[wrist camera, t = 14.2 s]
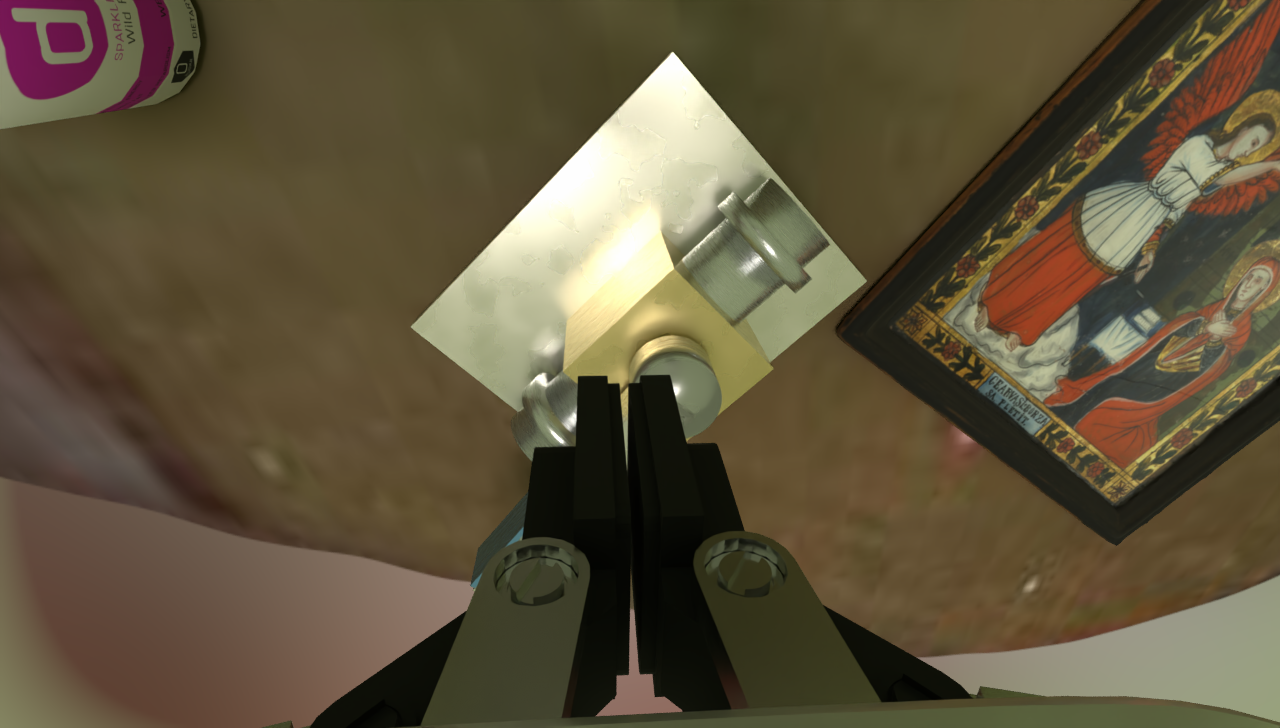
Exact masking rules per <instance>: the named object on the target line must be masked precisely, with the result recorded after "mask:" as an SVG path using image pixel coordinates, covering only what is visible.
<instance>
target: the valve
mask: <svg viewBox="0 0 1280 728" xmlns="http://www.w3.org/2000/svg"><path fill="white" fill-rule="evenodd" d="M866 282H867V281H866V279H865V278H864V277H863V276H862V275H861V273H860V272H859V271H858V270H857V269H856V268H855V266H854V265H853V264H852V263H851V262H850V260H849V259H848V258H847V257H846V256H845V255H844V253H843V252H842V251H841V250H840V249H839V247H838V246H837V245H836V244H835V243H834V242H833V240H832V239H831V238H830V237H829V236H828V234H827V233H826V232H825V231H824V230H823V229H822V227H821V226H820V225H819V224H818V223H817V221H816V220H815V219H814V218H813V217H812V216H811V214H810V213H809V212H808V211H807V210H806V209H805V207H804V206H803V205H802V204H801V203H800V201H799V200H798V199H797V198H796V197H795V196H794V194H793V193H792V192H791V191H790V190H789V188H788V187H787V186H786V185H785V184H784V183H783V181H782V180H781V179H780V178H779V177H778V175H777V174H776V173H775V172H774V171H773V170H772V168H771V167H770V166H769V165H768V164H767V162H766V161H765V160H764V159H763V158H762V157H761V155H760V154H759V153H758V152H757V151H756V149H755V148H754V147H753V146H752V145H751V144H750V142H749V141H748V140H747V139H746V138H745V136H744V135H743V134H742V133H741V132H740V131H739V129H738V128H737V127H736V126H735V125H734V124H733V122H732V121H731V120H730V119H729V118H728V116H727V115H726V114H725V113H724V112H723V111H722V109H721V108H720V107H719V106H718V105H717V103H716V102H715V101H714V100H713V99H712V98H711V96H710V95H709V94H708V93H707V92H706V90H705V89H704V88H703V87H702V86H701V85H700V83H699V82H698V81H697V80H696V79H695V77H694V76H693V75H692V74H691V73H690V72H689V70H688V69H687V68H686V67H685V66H684V64H683V63H682V62H681V61H680V60H679V59H678V57H677V56H676V55H675V54H674V53H673V52H670V53H669V54H668V55H667V56H666V57H665V58H664V59H663V61H662V62H661V63H660V64H659V65H658V66H657V67H656V68H655V69H654V70H653V71H652V72H651V73H650V74H649V75H648V76H647V77H646V78H645V79H644V80H643V82H642V83H641V84H640V85H639V86H638V87H637V88H636V89H635V90H634V91H633V92H632V93H631V94H630V95H629V96H628V97H627V98H626V99H625V100H624V101H623V102H622V104H621V105H620V106H619V107H618V108H617V109H616V110H615V111H614V112H613V113H612V114H611V115H610V116H609V117H608V118H607V119H606V120H605V121H604V122H603V123H602V125H601V126H600V127H599V128H598V129H597V130H596V131H595V132H594V133H593V134H592V135H591V136H590V137H589V138H588V139H587V140H586V141H585V142H584V143H583V144H582V146H581V147H580V148H579V149H578V150H577V151H576V152H575V153H574V154H573V155H572V156H571V157H570V158H569V159H568V160H567V161H566V162H565V163H564V164H563V165H562V167H561V168H560V169H559V170H558V171H557V172H556V173H555V174H554V175H553V176H552V177H551V178H550V179H549V180H548V181H547V182H546V183H545V184H544V185H543V186H542V188H541V189H540V190H539V191H538V192H537V193H536V194H535V195H534V196H533V197H532V198H531V199H530V200H529V201H528V202H527V203H526V204H525V205H524V206H523V207H522V209H521V210H520V211H519V212H518V213H517V214H516V215H515V216H514V217H513V218H512V219H511V220H510V221H509V222H508V223H507V224H506V225H505V226H504V227H503V228H502V230H501V231H500V232H499V233H498V234H497V235H496V236H495V237H494V238H493V239H492V240H491V241H490V242H489V243H488V244H487V245H486V246H485V247H484V248H483V249H482V251H481V252H480V253H479V254H478V255H477V256H476V257H475V258H474V259H473V260H472V261H471V262H470V263H469V264H468V265H467V266H466V267H465V268H464V269H463V270H462V271H461V273H460V274H459V275H458V276H457V277H456V278H455V279H454V280H453V281H452V282H451V283H450V284H449V285H448V286H447V287H446V288H445V289H444V290H443V291H442V292H441V294H440V295H439V296H438V297H437V298H436V299H435V300H434V301H433V302H432V303H431V304H430V305H429V306H428V307H427V308H426V309H425V310H424V311H423V312H422V313H421V315H420V316H419V317H418V318H417V319H416V320H415V321H414V322H413V324H412V326H411V328H412V329H413V330H415V331H416V332H417V333H419V334H420V335H421V336H422V337H424V338H425V339H426V340H427V341H429V342H430V343H431V344H433V345H434V346H435V347H436V348H438V349H439V350H440V351H441V352H443V353H444V354H445V355H446V356H448V357H449V358H450V359H452V360H453V361H454V362H455V363H457V364H458V365H459V366H460V367H462V368H463V369H464V370H466V371H467V372H468V373H469V374H471V375H472V376H473V377H474V378H476V379H477V380H478V381H479V382H481V383H482V384H483V385H485V386H486V387H487V388H488V389H490V390H491V391H492V392H493V393H495V394H496V395H497V396H499V397H500V398H501V399H502V400H504V401H505V402H506V403H507V404H509V405H510V406H511V407H512V408H514V409H515V410H516V411H518V412H517V413H516V414H515V415H514V416H513V417H512V420H511V429H512V433H513V435H514V438H515V440H516V442H517V443H518V445H519V447H520V448H521V449H522V451H523V452H524V453H525V454H526V456H527V457H528V458H529V459H530V460H531V461H532V460H533V453H534V448H535V447H558V446H576V415H577V384H578V376H608V383H619V384H620V395H621V394H622V393H623V392H624V391H625V389H626V388H627V387H628V385H629V368H630V364H631V361H632V359H633V357H634V356H635V354H636V353H637V351H638V350H639V349H640V348H641V347H642V346H644V345H645V344H646V343H648V342H650V341H651V340H654V339H656V338H659V337H663V336H671V335H674V336H682V337H686V338H689V339H691V340H693V341H695V342H696V343H698V344H699V345H700V346H701V347H702V348H703V349H704V350H705V351H706V353H707V354H708V356H709V359H710V361H711V364H712V367H713V369H714V372H715V375H716V377H717V380H718V383H719V385H720V389H721V393H722V403H721V408H720V411H719V413H718V415H719V414H720V413H721V412H722V411H724V410H725V409H726V408H727V407H728V406H730V405H731V404H732V403H733V402H734V401H736V400H737V399H738V398H739V397H740V396H742V395H743V394H744V393H745V392H746V391H748V390H749V389H750V388H751V387H752V386H754V385H755V384H756V383H757V382H758V381H760V380H761V379H762V378H763V377H764V376H766V375H767V374H768V373H769V372H770V371H772V370H773V369H774V368H773V366H772V364H771V363H770V362H771V361H772V360H773V359H775V358H776V357H777V356H778V355H779V354H781V353H782V352H783V351H784V350H785V349H787V348H788V347H789V346H790V345H791V344H792V343H794V342H795V341H796V340H797V339H798V338H800V337H801V336H802V335H803V334H804V333H806V332H807V331H808V330H809V329H810V328H812V327H813V326H814V325H815V324H816V323H818V322H819V321H820V320H821V319H822V318H824V317H825V316H826V315H827V314H828V313H830V312H831V311H832V310H833V309H834V308H836V307H837V306H838V305H839V304H840V303H842V302H843V301H844V300H845V299H846V298H848V297H849V296H850V295H851V294H852V293H854V292H855V291H856V290H857V289H858V288H860V287H861V286H862V285H863V284H864V283H866ZM690 438H691V437H689V438H686V441H687V440H689V439H690Z"/></svg>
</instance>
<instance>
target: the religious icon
mask: <svg viewBox="0 0 1280 728" xmlns="http://www.w3.org/2000/svg"><path fill="white" fill-rule="evenodd" d="M837 335H838V337H839V338H840V339H841V340H842V341H843V342H844V343H846V344H847V345H848V346H850V347H851V348H852V349H854V350H855V351H856V352H858V353H859V354H860V355H862V356H863V357H864V358H866V359H867V360H868V361H870V362H871V363H872V364H873V365H875V366H876V367H878V368H879V369H880V370H882V371H883V372H884V373H886V374H887V375H888V376H890V377H891V378H892V379H893V380H895V381H896V382H897V383H899V384H900V385H901V386H903V387H904V388H905V389H907V390H908V391H909V392H911V393H912V394H913V395H915V396H916V397H917V398H919V399H920V400H921V401H923V402H924V403H925V404H927V405H928V406H929V407H930V408H932V409H933V410H934V411H936V412H937V413H938V414H940V415H941V416H942V417H944V418H945V419H946V420H948V421H949V422H950V423H952V424H953V425H954V426H955V427H957V428H958V429H959V430H961V431H962V432H963V433H965V434H966V435H967V436H969V437H970V438H971V439H973V440H974V441H976V442H977V443H978V444H980V445H981V446H982V447H983V448H985V449H986V450H987V451H989V452H990V453H991V454H992V455H994V456H995V457H996V458H998V459H999V460H1000V461H1002V462H1003V463H1004V464H1006V465H1007V466H1008V467H1010V468H1011V469H1012V470H1014V471H1015V472H1016V473H1018V474H1019V475H1020V476H1022V477H1023V478H1024V479H1026V480H1027V481H1028V482H1029V483H1031V484H1032V485H1033V486H1035V487H1036V488H1037V489H1039V490H1040V491H1041V492H1043V493H1044V494H1045V495H1046V496H1048V497H1049V498H1051V499H1052V500H1053V501H1055V502H1056V503H1057V504H1058V505H1060V506H1061V507H1062V508H1064V509H1065V510H1066V511H1068V512H1069V513H1070V514H1072V515H1073V516H1074V517H1076V518H1077V519H1078V520H1080V521H1081V522H1082V523H1083V524H1084V525H1086V526H1087V527H1089V528H1090V529H1091V530H1093V531H1094V532H1096V533H1097V534H1098V535H1100V536H1101V537H1102V538H1104V539H1105V540H1106V541H1108V542H1110V543H1112V544H1114V545H1116V546H1117V545H1118V544H1120V543H1121V542H1122V541H1123V540H1124V539H1125V538H1126V537H1127V536H1128V535H1130V534H1131V533H1133V532H1134V531H1135V530H1137V529H1138V528H1139V527H1141V526H1142V525H1144V524H1146V523H1148V521H1149V520H1150V519H1152V518H1153V517H1154V516H1155V515H1157V514H1159V513H1160V512H1161V511H1162V510H1163V509H1164V508H1165V507H1167V506H1168V505H1169V504H1171V503H1172V502H1173V501H1174V500H1176V499H1177V498H1178V497H1180V496H1181V495H1182V494H1183V493H1185V492H1186V491H1187V490H1189V489H1190V488H1191V487H1193V486H1194V485H1195V484H1197V483H1198V482H1199V481H1201V480H1202V479H1204V478H1206V477H1207V476H1208V475H1209V474H1211V473H1212V472H1213V471H1214V470H1215V469H1216V468H1218V467H1219V466H1220V465H1221V464H1223V463H1224V462H1225V461H1227V460H1228V459H1229V458H1231V457H1232V456H1233V455H1234V454H1236V453H1237V452H1239V451H1240V450H1241V449H1243V448H1244V447H1245V446H1246V445H1248V444H1249V443H1250V442H1252V441H1253V440H1254V439H1256V438H1257V437H1258V436H1260V435H1261V434H1262V433H1264V432H1265V431H1266V430H1268V429H1269V428H1270V427H1272V426H1273V425H1274V424H1276V423H1277V422H1278V421H1280V0H1141V2H1140V3H1139V4H1138V5H1137V6H1136V7H1135V8H1134V9H1133V10H1132V11H1131V12H1130V13H1129V14H1128V15H1127V16H1126V17H1125V19H1124V20H1123V21H1122V22H1121V23H1120V24H1119V25H1118V26H1117V27H1116V28H1115V29H1114V30H1113V31H1112V33H1111V34H1110V35H1109V36H1108V37H1107V38H1106V39H1105V40H1104V41H1103V42H1102V43H1101V44H1100V45H1099V47H1098V48H1097V49H1096V50H1095V51H1094V52H1093V53H1092V54H1091V55H1090V56H1089V58H1088V59H1087V60H1086V61H1085V62H1084V63H1083V64H1082V65H1081V66H1080V67H1079V68H1078V69H1077V70H1076V71H1075V72H1074V73H1073V74H1072V75H1071V77H1070V78H1069V79H1068V80H1067V81H1066V82H1065V83H1064V84H1063V85H1062V86H1061V87H1060V89H1059V90H1058V91H1057V92H1056V93H1055V94H1054V95H1053V96H1052V97H1051V98H1050V99H1049V100H1048V101H1047V102H1046V103H1045V105H1044V106H1043V107H1042V108H1041V109H1040V110H1039V111H1038V112H1037V113H1036V114H1035V115H1034V117H1033V118H1032V119H1031V120H1030V121H1029V122H1028V123H1027V124H1026V125H1025V126H1024V127H1023V128H1022V129H1021V130H1020V131H1019V133H1018V134H1017V135H1016V136H1015V137H1014V138H1013V139H1012V140H1011V141H1010V142H1009V143H1008V144H1007V145H1006V147H1005V148H1004V149H1003V150H1002V151H1001V152H1000V153H999V154H998V155H997V156H996V157H995V158H994V159H993V160H992V162H991V163H990V164H989V165H988V166H987V167H986V168H985V169H984V170H983V171H982V172H981V173H980V175H979V176H978V177H977V178H976V179H975V180H974V181H973V182H972V183H971V184H970V185H969V186H968V188H967V189H966V190H965V191H964V192H963V193H962V194H961V195H960V196H959V197H958V198H957V199H956V200H955V201H954V202H953V203H952V205H951V206H950V207H949V208H948V209H947V210H946V211H945V212H944V213H943V214H942V215H941V216H940V217H939V219H938V220H937V221H936V222H935V223H934V224H933V225H932V226H931V227H930V228H929V229H928V230H927V231H926V233H925V234H924V235H923V236H922V237H921V238H920V239H919V240H918V241H917V242H916V243H915V244H914V245H913V246H912V247H911V248H910V250H909V251H908V252H907V253H906V254H905V255H904V256H903V257H902V258H901V259H900V260H899V261H898V262H897V263H896V265H895V266H894V267H893V268H892V269H891V270H890V271H889V272H888V273H887V274H886V275H885V276H884V277H883V278H882V279H881V280H880V282H879V283H878V284H877V285H876V286H875V287H874V288H873V289H872V290H871V291H870V292H869V293H868V294H867V295H866V297H865V298H864V299H863V300H862V301H861V302H860V303H859V304H858V305H857V306H856V307H855V308H854V309H853V310H852V311H851V312H850V314H849V315H848V316H847V317H845V319H844V320H843V321H842V322H841V324H840V325H839V326H838V328H837Z"/></svg>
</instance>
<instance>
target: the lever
mask: <svg viewBox="0 0 1280 728" xmlns="http://www.w3.org/2000/svg"><path fill="white" fill-rule="evenodd" d="M640 375H670V376H671V380H672V384H673V388H674V392H675V396H676V401H677V405H678V409H679V413H680V417H681V421H682V426H683V430H684V434H685V438H689V437H692V436H695V435H697V434H699V433H701V432H702V431H704V430H705V429H706V428H708V427H709V426H710V425H711V424H712V422H713V421H714V420H715V418H716V417H717V415H718V413H719V411H720V408H721V403H722V393H721V389H720V385H719V383H718V380H717V377H716V375H715V372H714V369H713V367H712V364H711V361H710V359H709V356H708V354H707V353H706V351H705V350H704V349H703V348H702V347H701V346H700V345H699V344H698V343H696V342H695V341H693V340H691V339H689V338H686V337H682V336H674V335H671V336H663V337H659V338H656V339H654V340H651V341H650V342H648V343H646V344H645V345H644V346H642V347H641V348H640V349H639V350H638V351H637V353H636V354H635V356H634V357H633V359H632V361H631V364H630V368H629V383H639V380H640ZM621 406H622V418H623V429H624V440H625V452H626V463H627V447H628V387H627V388H626V389H625V391H624V392H623V393H622V394H621ZM527 498H528V493H527V494H526V495H525V496H524V497H523V498H522V499H521V500H520V502H519V503H518V504H517V505H516V506H515V507H514V508H513V510H512V511H511V512H510V513H509V514H508V515H507V516H506V518H505V519H504V520H503V521H502V522H501V523H500V524H499V525H498V527H497V528H496V529H495V530H494V531H493V532H492V533H491V535H490V536H489V537H488V538H487V539H486V540H485V541H484V542H483V544H482V545H481V546H480V547H479V548H478V552H477V557H476V562H475V566H474V571H473V576H472V580H471V585H470V586H471V587H473V591H475V590H476V587H477V585H478V582H479V580H480V577H481V575H482V572H483V570H484V568H485V567H486V565H487V563H488V562H489V560H490V559H491V558H492V557H493V556H494V555H495V554H496V553H497V552H499V551H500V550H501V549H502V548H504V547H506V546H508V545H510V544H512V543H514V542H517V541H521V540H522V535H523V528H524V520H525V513H526V505H527Z"/></svg>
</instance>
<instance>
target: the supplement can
mask: <svg viewBox="0 0 1280 728" xmlns="http://www.w3.org/2000/svg"><path fill="white" fill-rule="evenodd" d="M200 44H201V43H200V37H199V30H198V24H197V17H196V12H195V10H194V7H193V5H192V3H191V1H190V0H0V129H4V128H11V127H17V126H23V125H29V124H36V123H42V122H48V121H54V120H61V119H67V118H73V117H79V116H86V115H92V114H98V113H104V112H111V111H117V110H123V109H129V108H136V107H142V106H148V105H154V104H158V103H160V102H162V101H164V100H166V99H168V98H169V97H171V96H173V95H175V94H177V93H179V92H180V91H181V90H182V88H183V87H184V86H185V84H186V83H187V82H188V80H189V79H190V77H191V76H192V75H193V73H194V72H195V68H196V64H197V59H198V54H199V49H200Z"/></svg>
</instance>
